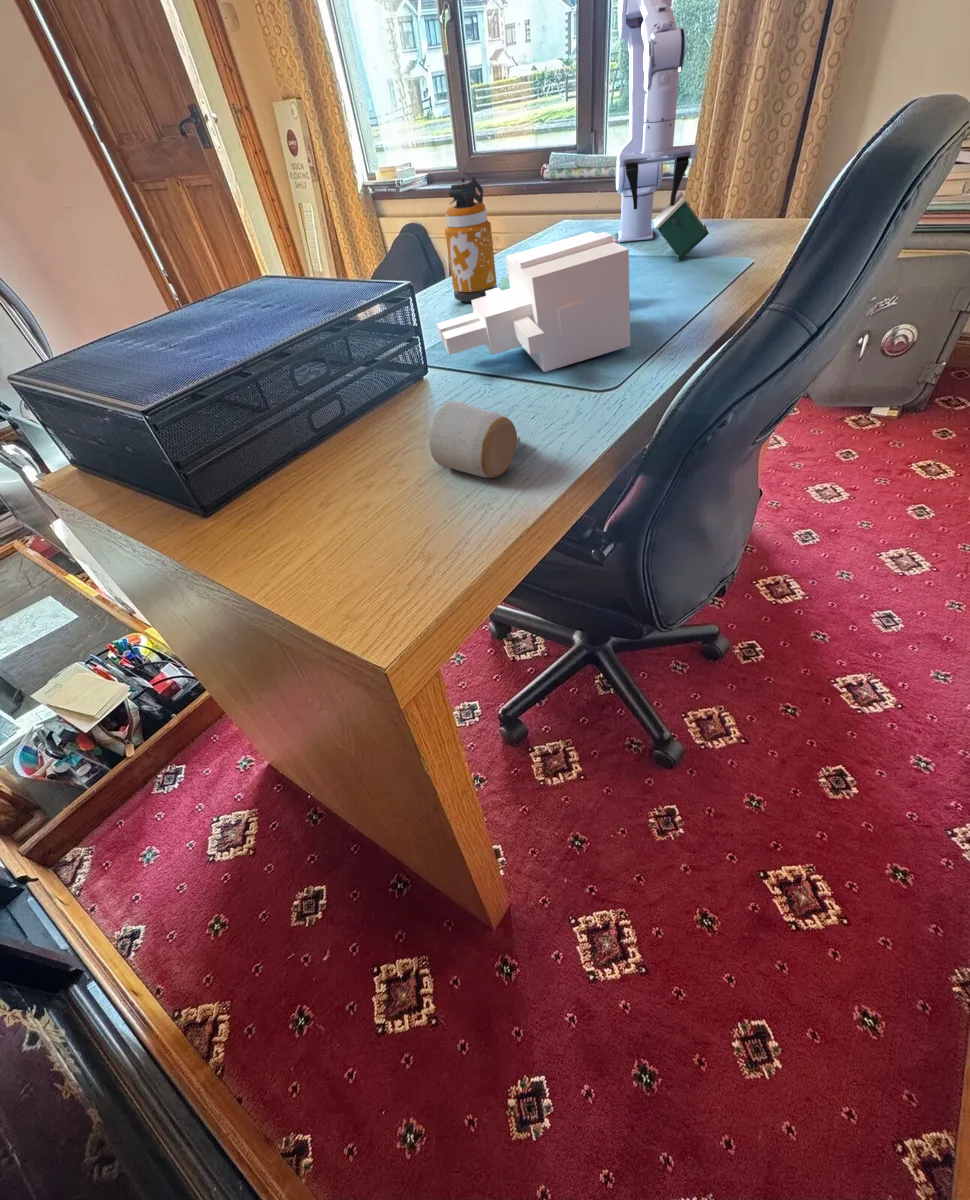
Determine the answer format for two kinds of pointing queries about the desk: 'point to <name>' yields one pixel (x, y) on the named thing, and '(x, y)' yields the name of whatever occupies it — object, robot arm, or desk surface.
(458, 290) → the canister
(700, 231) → the green and cream block
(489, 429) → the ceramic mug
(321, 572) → the desk surface
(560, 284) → the blocky voxel creature
